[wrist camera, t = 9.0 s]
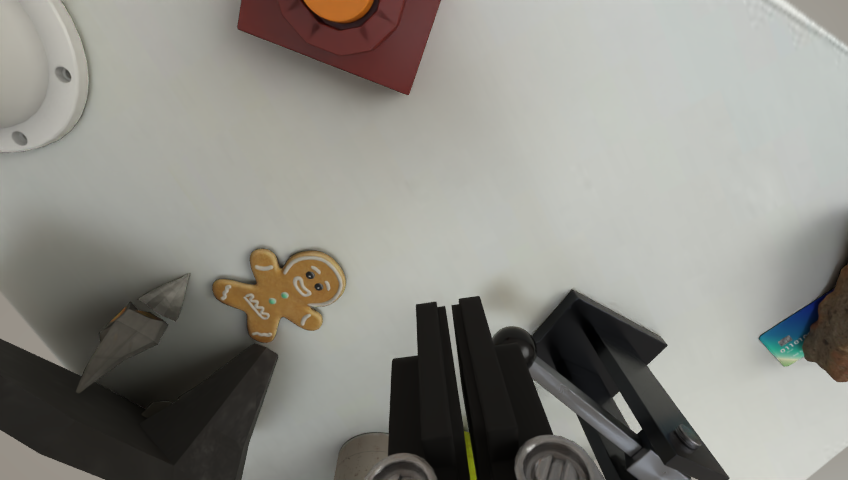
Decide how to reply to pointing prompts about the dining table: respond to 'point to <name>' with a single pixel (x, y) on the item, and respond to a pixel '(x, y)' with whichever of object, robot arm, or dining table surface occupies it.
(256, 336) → the cookie
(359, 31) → the control block
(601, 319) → the bracket
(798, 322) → the credit card
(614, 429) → the lever
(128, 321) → the decorative object
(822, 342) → the stone fragment
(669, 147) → the dining table surface
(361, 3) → the button
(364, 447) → the thermos bottle
